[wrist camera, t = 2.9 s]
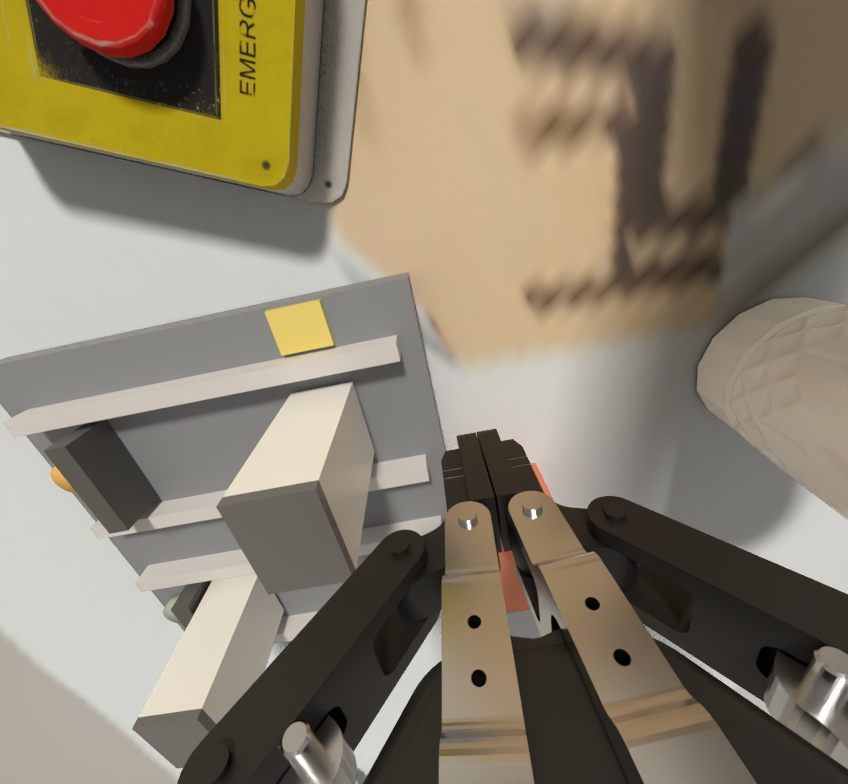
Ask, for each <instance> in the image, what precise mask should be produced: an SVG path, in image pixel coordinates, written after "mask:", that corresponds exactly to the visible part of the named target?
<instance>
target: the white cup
mask: <svg viewBox="0 0 848 784" xmlns="http://www.w3.org/2000/svg"><path fill="white" fill-rule="evenodd" d="M697 392H698V394H699V396H700V397H701V399H702V401H703V402H704V404H705V406H706V407H707V409H708V410H709V411H710V412H711V413H713V414H714V415H715V416H717V417H718V418H720V419H721V420H722V421H724V422H725V423H726V424H728V425H729V426H730V427H732V428H733V429H734V430H736V431H737V432H739V434H740V435H741V436H742V437H743V438H744V439H745V440H746V441H748V442H749V443H750V444H751V445H752V446H753V447H754V448H755V449H757V450H758V451H759V452H761V453H762V454H763V455H765V456H766V457H768V458H769V459H770V460H772V461H773V462H774V463H775V464H776V465H777V466H778V467H779V468H780V469H782V470H783V471H784V472H785V473H786V474H788V475H789V476H790V477H792V478H793V479H794V480H796V481H797V482H798V483H799V484H801V485H802V486H803V487H805V488H806V489H807V490H809V491H810V492H811V493H813V494H814V495H815V496H816V497H818V498H819V499H820V500H822V501H823V502H824V503H826V504H827V505H828V506H830V507H831V508H832V509H833V510H835V511H836V512H837V513H839V514H840V515H841V516H843V517H844V518H845V519H847V520H848V305H846V304H841V303H835V302H830V301H824V300H819V299H813V298H807V297H798V298H778V299H771V300H768V301H766V302H764V303H762V304H760V305H758V306H755V307H753V308H751V309H749V310H747V311H744V312H742V313H740V314H739V315H737V316H736V317H735V318H734V319H733V320H732V321H731V322H730V323H729V324H727V325H726V326H725V327H724V328H723V329H722V330H721V331H720V332H719V333H718V334H717V335H716V336H714V337H713V339H712V340H711V342H710V344H709V346H708V348H707V350H706V351H705V353H704V355H703V357H702V359H701V361H700V363H699V364H698V374H697Z"/></svg>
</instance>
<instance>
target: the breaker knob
mask: <svg viewBox="0 0 848 784" xmlns="http://www.w3.org/2000/svg"><path fill="white" fill-rule="evenodd" d="M283 612H284V609H283V608H282V606H281V604H280V603H279V601H278V599H277V597H276V596H275V594H269V595H268V593H267V592H266V590H265V588H264V587H263V585H262V583H261V582H260V580H259V578H258V576H257V575H256V573H254V574H248V575H242V576H236V577H230V578H224V579H217V580H212V582H211V584H210V585H209V587H208V589H207V591H206V593H205V595H204V597H203V598H202V600H201V602H200V604H199V606H198V608H197V610H196V611H195V613H194V615H193V617H192V619H191V621H190V623H189V624H188V626H187V628H186V630H185V632H184V634H183V636H182V637H181V639H180V641H179V643H178V645H177V647H176V648H175V650H174V652H173V654H172V656H171V658H170V660H169V661H168V663H167V665H166V667H165V669H164V671H163V673H162V674H161V676H160V678H159V680H158V682H157V684H156V686H155V687H154V689H153V691H152V693H151V695H150V697H149V699H148V700H147V702H146V704H145V706H144V708H143V710H142V712H141V713H140V715H139V717H138V719H137V721H136V723H135V725H134V726H133V728H132V729H133V730H134V731H135V732H136V733H138V734H139V735H140V736H141V737H142V738H143V739H144V740H145V741H147V742H148V743H149V744H150V745H151V746H152V747H153V748H154V749H156V750H157V751H158V752H159V753H160V754H161V755H162V756H164V757H165V758H166V759H167V760H168V761H169V762H170V763H171V764H173V765H174V766H175V767H176V768H184V765H185V763H186V762H187V760H188V758H189V757H190V755H191V754H192V752H193V751H194V749H195V748H196V747H197V746H198V745H199V743H200V742H201V741H202V740H203V739H204V738H205V737H206V735H207V734H208V733H209V732H210V731H211V730H212V729H213V728H214V727H215V725H216V724H217V723H218V722H219V721H220V720H221V719H222V718H223V717H224V716H225V714H226V713H227V712H228V711H229V710H230V709H231V708H232V707H233V706H234V704H235V703H236V702H237V701H238V700H239V699H240V698H241V697H242V696H243V694H244V693H245V692H246V691H247V690H248V689H249V688H250V687H251V686H252V684H253V683H254V682H255V681H256V680H257V679H258V678H259V677H260V676H261V674H262V673H263V672H264V671H265V668H266V665H267V662H268V659H269V656H270V652H271V649H272V646H273V643H274V640H275V637H276V634H277V631H278V627H279V624H280V621H281V618H282V615H283Z"/></svg>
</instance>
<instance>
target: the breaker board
mask: <svg viewBox="0 0 848 784" xmlns="http://www.w3.org/2000/svg"><path fill="white" fill-rule="evenodd" d="M352 381H353V384H354V387H355V390H356V393H357V397H358V400H359V403H360V406H361V409H362V412H363V416H364V419H365V422H366V425H367V428H368V431H369V435H370V438H371V441H372V444H373V447H374V458H373V464H372V471H371V477H370V483H369V490H368V496H367V503H366V509H365V515H364V522H363V528H362V535H361V541H360V548H359V554H358V560H357V567H356V569H357V568H358V567H359V566H360V565H361V563H362V562H363V561H364V560H365V559H366V558H367V557H368V556H369V555H370V553H371V552H372V551H373V550H374V549H375V548H376V547H377V546H378V545H379V543H380V542H381V541H382V540H383V539H384V538H385V537H386V536H388V535H389V534H391V533H393V532H395V531H398V530H412V531H415V532H417V533H418V534H420V535H421V536H422V535H425V534H427V533H429V532H431V531H433V530H435V529H436V528H437V527H439V526H440V525H441V524H442V522H443V521H444V519H445V516H446V514H447V506H446V497H445V489H444V481H443V473H442V465H441V460H442V458H443V455H444V453H445V451H446V450H445V445H444V440H443V435H442V431H441V426H440V421H439V416H438V412H437V407H436V402H435V397H434V393H433V388H432V383H431V378H430V374H429V369H428V364H427V359H426V354H425V350H424V345H423V340H422V335H421V331H420V326H419V321H418V316H417V312H416V307H415V302H414V297H413V293H412V288H411V283H410V278H409V274H408V273H404V274H399V275H394V276H389V277H385V278H380V279H375V280H371V281H366V282H361V283H356V284H352V285H347V286H342V287H338V288H333V289H328V290H323V291H319V292H314V293H309V294H305V295H300V296H295V297H290V298H286V299H281V300H276V301H272V302H267V303H262V304H257V305H253V306H248V307H243V308H239V309H234V310H229V311H224V312H220V313H215V314H210V315H206V316H201V317H196V318H191V319H187V320H182V321H177V322H173V323H168V324H163V325H158V326H154V327H149V328H144V329H140V330H135V331H130V332H125V333H121V334H116V335H111V336H107V337H102V338H97V339H93V340H88V341H83V342H78V343H74V344H69V345H64V346H60V347H55V348H50V349H45V350H41V351H36V352H31V353H27V354H22V355H17V356H12V357H8V358H4V359H1V360H0V404H1V405H2V406H3V408H4V409H5V410H6V411H7V412H8V414H9V415H10V416H11V417H12V418H10V419H8V420H6V421H4V422H3V424H4V425H5V426H6V428H7V429H8V430H9V431H10V432H11V434H12V435H13V436H14V437H19V436H24V435H26V436H27V437H28V438H29V440H30V441H31V442H32V443H33V445H34V446H35V447H36V448H37V450H38V451H39V452H40V453H41V455H42V456H43V457H44V458H45V460H46V461H47V462H48V463H49V465H50V466H51V467H52V468H53V469H52V470H51V477H52V479H53V481H54V482H55V483H56V484H57V485H58V486H59V487H61V488H62V489H64V490H66V491H69V492H72V493H73V494H74V495H75V497H76V498H77V499H78V500H79V502H80V503H81V504H82V505H83V507H84V508H85V509H86V510H87V512H88V513H89V514H90V515H91V517H92V518H93V519H94V520H95V521H96V523H95V524H94V525H93V526H92V527H91V528H90V529H91V530H92V532H93V533H94V534H95V535H96V537H97V538H98V539H102V538H109V539H110V540H111V541H112V543H113V544H114V545H115V546H116V547H117V549H118V550H119V551H120V552H121V554H122V555H123V556H124V557H125V559H126V560H127V561H128V562H129V564H130V565H131V566H132V567H133V569H134V570H135V571H136V572H137V573H138V575H139V576H140V577H139V578H138V580H137V581H136V582H135V584H136V585H137V586H138V587H139V589H140V590H141V591H142V592H145V591H152V592H153V593H154V595H155V596H156V597H157V598H158V599H159V601H160V602H161V603H162V604H163V606H164V607H165V608H164V610H163V614H164V616H165V617H166V618H167V619H168V620H170V621H172V622H176V623H178V624H179V625H180V627H181V628H182V629H183V630H184V632H185V630H186V628H187V626H188V624H189V623H190V621H191V619H192V617H193V615H194V613H195V611H196V610H197V608H198V606H199V604H200V602H201V600H202V598H203V597H204V595H205V593H206V591H207V589H208V587H209V585H210V584H211V582H212V580H217V579H224V578H230V577H236V576H242V575H248V574H254V573H255V571H254V570H253V568H252V566H251V565H250V563H249V561H248V560H247V558H246V556H245V555H244V553H243V551H242V550H241V548H240V546H239V545H238V543H237V541H236V540H235V538H234V536H233V535H232V533H231V531H230V530H229V528H228V526H227V524H226V523H225V521H224V519H223V518H222V516H221V514H220V513H219V511H218V509H217V508H216V506H217V505H218V503H219V502H220V500H221V499H222V497H223V496H224V494H225V493H226V491H227V489H228V488H229V486H230V485H231V483H232V482H233V480H234V479H235V477H236V476H237V474H238V473H239V471H240V470H241V468H242V467H243V465H244V464H245V462H246V461H247V459H248V458H249V456H250V455H251V453H252V452H253V450H254V449H255V447H256V446H257V444H258V443H259V441H260V439H261V438H262V436H263V435H264V433H265V432H266V430H267V429H268V427H269V426H270V424H271V423H272V421H273V420H274V418H275V417H276V415H277V414H278V412H279V411H280V409H281V408H282V406H283V405H284V403H285V402H286V400H287V399H288V397H289V396H290V394H291V393H296V392H301V391H306V390H311V389H316V388H321V387H326V386H332V385H337V384H342V383H347V382H352ZM343 583H344V582H343ZM343 583H337V584H331V585H325V586H319V587H312V588H306V589H300V590H294V591H288V592H281V593H275V596H276V597H277V599H278V601H279V603H280V604H281V606H282V608H283V609H284V612H283V615H282V618H281V621H280V624H279V627H278V631H277V634H276V637H275V640H274V643H280V642H287V641H292V640H293V639H294V638H295V637H296V636H297V634H298V633H299V632H300V631H301V630H302V629H303V628H304V627H305V626H306V624H307V623H308V622H309V621H310V620H311V619H312V618H313V617H314V616H315V614H316V613H317V612H318V611H319V610H320V609H321V608H322V607H323V606H324V605H325V603H326V602H327V601H328V600H329V599H330V598H331V597H332V596H333V595H334V593H335V592H336V591H337V590H338V589H339V588H340V587H341V586H342V585H343ZM438 618H442V610H441V611H440V615H439V617H438ZM274 643H273V644H274Z"/></svg>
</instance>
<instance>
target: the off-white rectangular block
mask: <svg viewBox="0 0 848 784" xmlns="http://www.w3.org/2000/svg"><path fill="white" fill-rule="evenodd" d="M373 458H374V447H373V444H372V441H371V438H370V435H369V431H368V428H367V425H366V422H365V419H364V416H363V412H362V409H361V406H360V403H359V400H358V397H357V393H356V390H355V387H354V384H353V381H352V382H347V383H342V384H337V385H332V386H326V387H321V388H316V389H311V390H306V391H301V392H296V393H291V394H290V396H289V397H288V399H287V400H286V402H285V403H284V405H283V406H282V408H281V409H280V411H279V412H278V414H277V415H276V417H275V418H274V420H273V421H272V423H271V424H270V426H269V427H268V429H267V430H266V432H265V433H264V435H263V436H262V438H261V439H260V441H259V443H258V444H257V446H256V447H255V449H254V450H253V452H252V453H251V455H250V456H249V458H248V459H247V461H246V462H245V464H244V465H243V467H242V468H241V470H240V471H239V473H238V474H237V476H236V477H235V479H234V480H233V482H232V483H231V485H230V486H229V488H228V489H227V491H226V493H225V494H224V496H223V497H222V499H221V500H220V502H219V503H218V505H217V506H216V508H217V509H218V511H219V513H220V514H221V516H222V518H223V519H224V521H225V523H226V524H227V526H228V528H229V530H230V531H231V533H232V535H233V536H234V538H235V540H236V541H237V543H238V545H239V546H240V548H241V550H242V551H243V553H244V555H245V556H246V558H247V560H248V561H249V563H250V565H251V566H252V568H253V570H254V571H255V573H256V575H257V576H258V578H259V580H260V582H261V583H262V585H263V587H264V588H265V590H266V592H267V593H268V595H269V594H275V593H281V592H288V591H294V590H300V589H306V588H312V587H319V586H325V585H331V584H337V583H343V582H345V581H346V580H347V579H348V578H349V577H350V576H351V575H352V573H353V572H354V571H355V570H356V567H357V560H358V554H359V548H360V541H361V535H362V528H363V522H364V515H365V509H366V503H367V496H368V490H369V483H370V477H371V471H372V464H373Z"/></svg>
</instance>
